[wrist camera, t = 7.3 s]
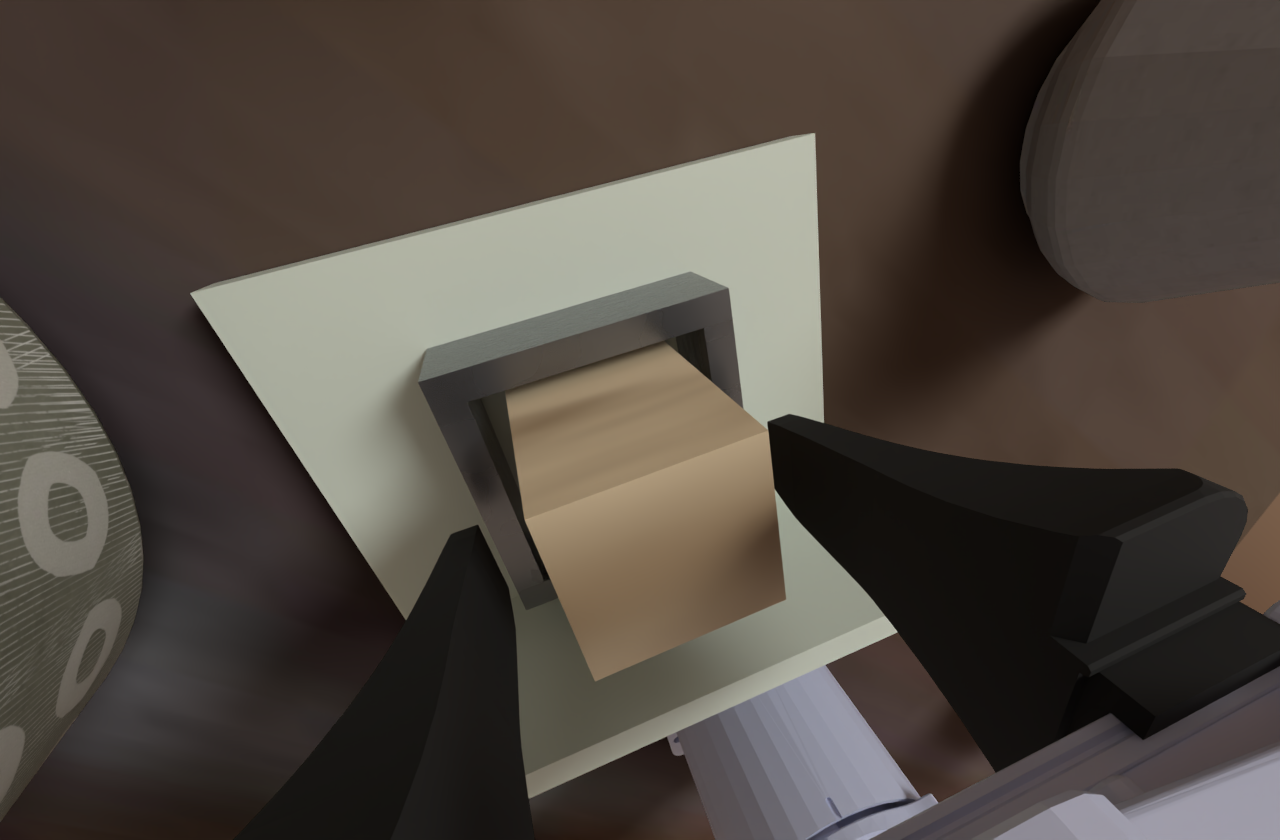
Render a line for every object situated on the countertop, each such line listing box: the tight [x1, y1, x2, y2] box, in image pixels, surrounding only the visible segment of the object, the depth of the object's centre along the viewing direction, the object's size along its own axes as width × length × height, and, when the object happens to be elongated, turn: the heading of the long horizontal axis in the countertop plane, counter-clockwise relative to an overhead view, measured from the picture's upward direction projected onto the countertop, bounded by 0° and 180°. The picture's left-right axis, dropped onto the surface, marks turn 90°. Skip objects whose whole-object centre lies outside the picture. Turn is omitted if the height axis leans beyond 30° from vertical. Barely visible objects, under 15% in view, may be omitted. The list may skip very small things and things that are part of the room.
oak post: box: [505, 341, 786, 681], centre depth 12 cm, size 4×4×7 cm
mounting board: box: [190, 133, 897, 798], centre depth 14 cm, size 13×16×7 cm
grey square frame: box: [418, 271, 744, 610], centre depth 15 cm, size 9×8×2 cm
